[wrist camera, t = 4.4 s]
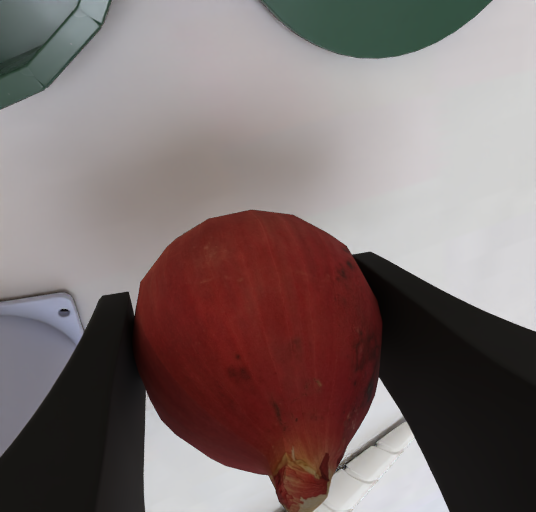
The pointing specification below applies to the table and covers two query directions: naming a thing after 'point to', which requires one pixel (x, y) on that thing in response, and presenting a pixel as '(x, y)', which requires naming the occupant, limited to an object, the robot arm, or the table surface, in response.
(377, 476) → the unicorn horn
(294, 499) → the onion
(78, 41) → the pot
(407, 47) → the lid
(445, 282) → the table surface
